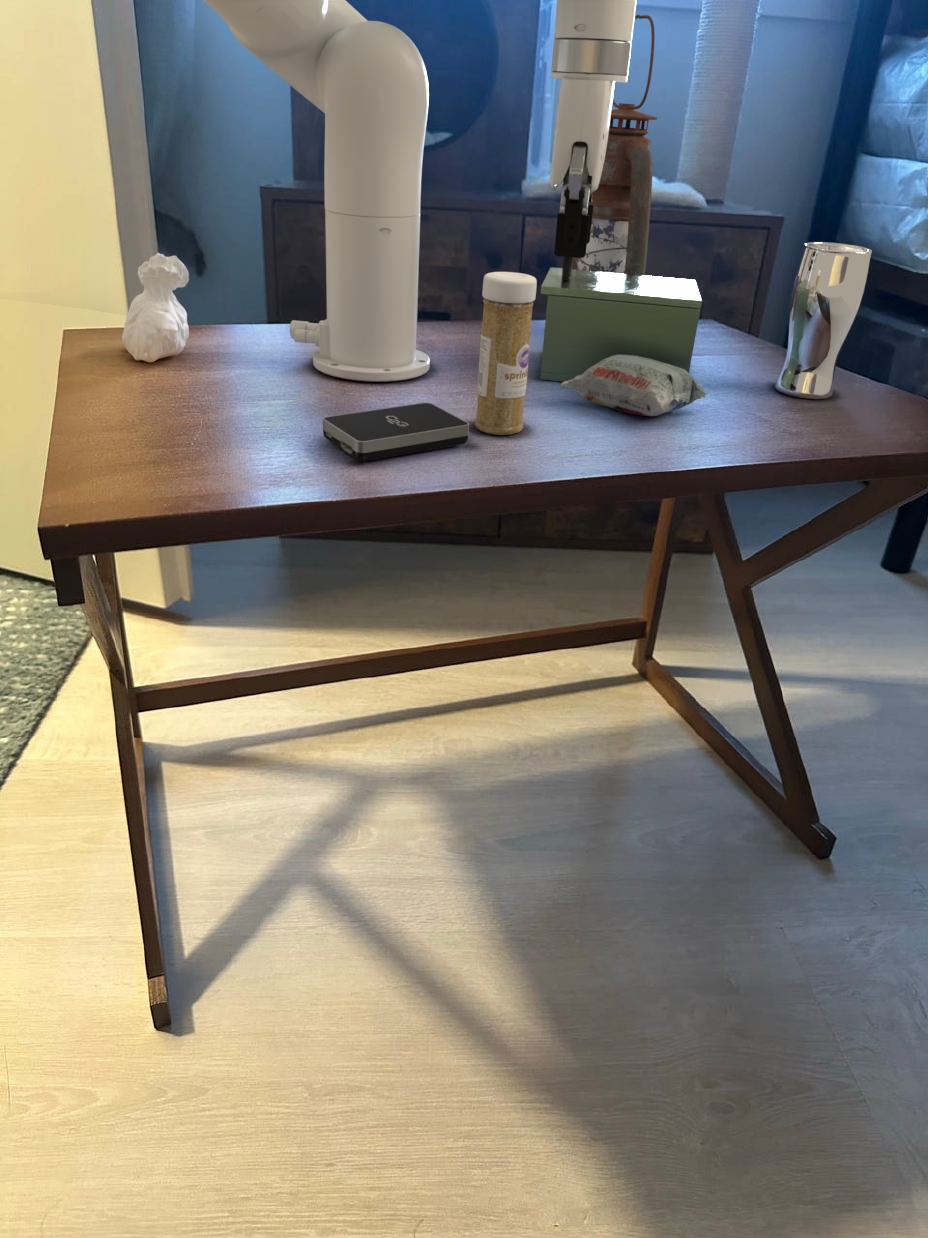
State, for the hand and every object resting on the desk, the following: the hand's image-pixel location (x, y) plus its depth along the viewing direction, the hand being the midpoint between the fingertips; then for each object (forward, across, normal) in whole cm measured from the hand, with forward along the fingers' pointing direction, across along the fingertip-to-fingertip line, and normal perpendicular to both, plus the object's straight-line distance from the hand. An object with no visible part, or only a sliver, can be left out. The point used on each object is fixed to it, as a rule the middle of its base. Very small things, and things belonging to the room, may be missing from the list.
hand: (572, 249), depth 99 cm
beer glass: (+13, 0, +27) cm, 30 cm away
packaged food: (+13, +14, +8) cm, 21 cm away
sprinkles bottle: (+13, +24, -4) cm, 28 cm away
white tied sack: (+12, +12, -43) cm, 46 cm away
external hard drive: (+12, +31, -12) cm, 36 cm away
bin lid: (+4, 0, +6) cm, 7 cm away
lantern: (+13, -18, +3) cm, 22 cm away
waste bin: (+13, 0, +6) cm, 14 cm away
